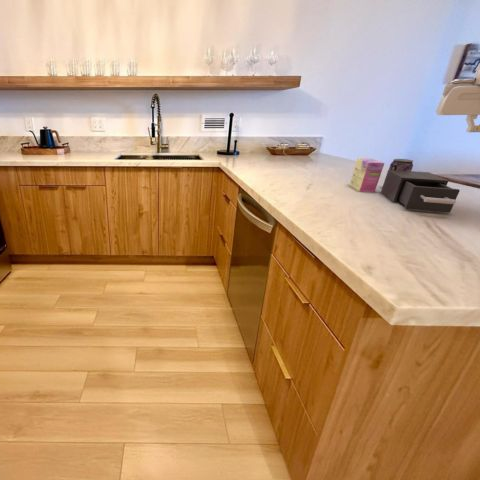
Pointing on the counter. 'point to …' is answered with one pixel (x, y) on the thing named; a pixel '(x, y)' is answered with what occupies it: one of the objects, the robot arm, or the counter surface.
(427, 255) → the counter surface
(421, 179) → the fryer
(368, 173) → the box
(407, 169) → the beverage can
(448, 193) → the basket
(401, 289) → the counter surface
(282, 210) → the counter surface
